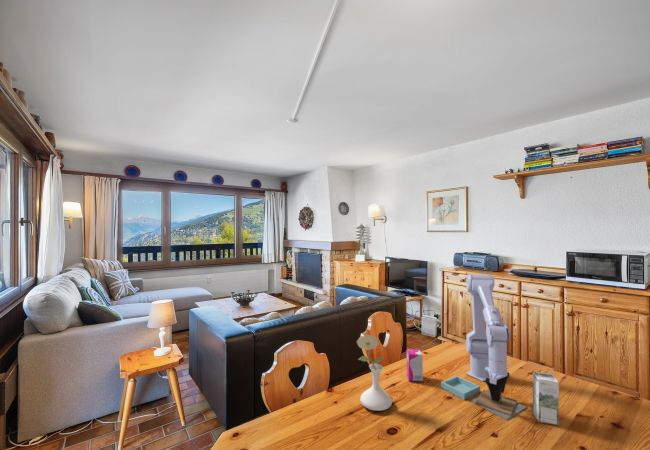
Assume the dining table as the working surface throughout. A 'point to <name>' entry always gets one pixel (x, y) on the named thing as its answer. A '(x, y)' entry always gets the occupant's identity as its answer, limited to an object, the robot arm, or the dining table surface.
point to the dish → (460, 387)
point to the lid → (497, 403)
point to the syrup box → (546, 398)
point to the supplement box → (414, 365)
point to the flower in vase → (374, 395)
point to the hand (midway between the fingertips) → (497, 396)
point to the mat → (516, 410)
